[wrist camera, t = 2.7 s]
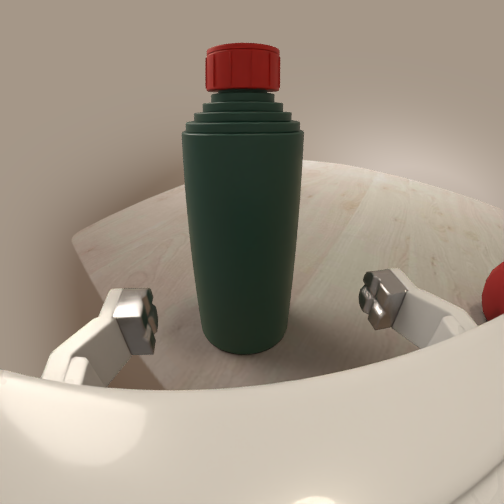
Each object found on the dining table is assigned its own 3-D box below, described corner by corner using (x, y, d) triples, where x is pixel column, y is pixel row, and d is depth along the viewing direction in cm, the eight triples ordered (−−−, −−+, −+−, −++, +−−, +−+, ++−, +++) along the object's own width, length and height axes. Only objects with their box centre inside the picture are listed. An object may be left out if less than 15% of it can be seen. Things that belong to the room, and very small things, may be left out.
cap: (224, 87, 10) (224, 39, 9) (196, 93, 13) (197, 55, 12) (293, 91, 12) (294, 49, 11) (256, 92, 15) (256, 58, 14)
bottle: (224, 367, 17) (206, 38, 8) (190, 309, 22) (167, 66, 13) (304, 332, 20) (332, 58, 11) (259, 287, 25) (263, 68, 16)
